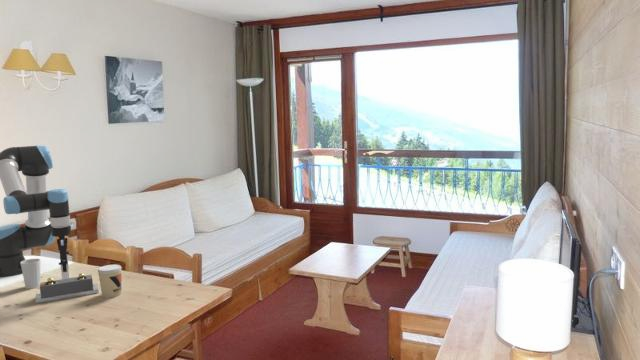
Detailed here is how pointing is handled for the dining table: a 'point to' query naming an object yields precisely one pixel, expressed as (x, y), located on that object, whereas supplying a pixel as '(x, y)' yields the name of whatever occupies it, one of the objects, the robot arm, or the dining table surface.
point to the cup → (31, 273)
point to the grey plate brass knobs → (50, 281)
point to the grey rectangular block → (66, 286)
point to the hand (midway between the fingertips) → (65, 274)
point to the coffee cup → (110, 280)
